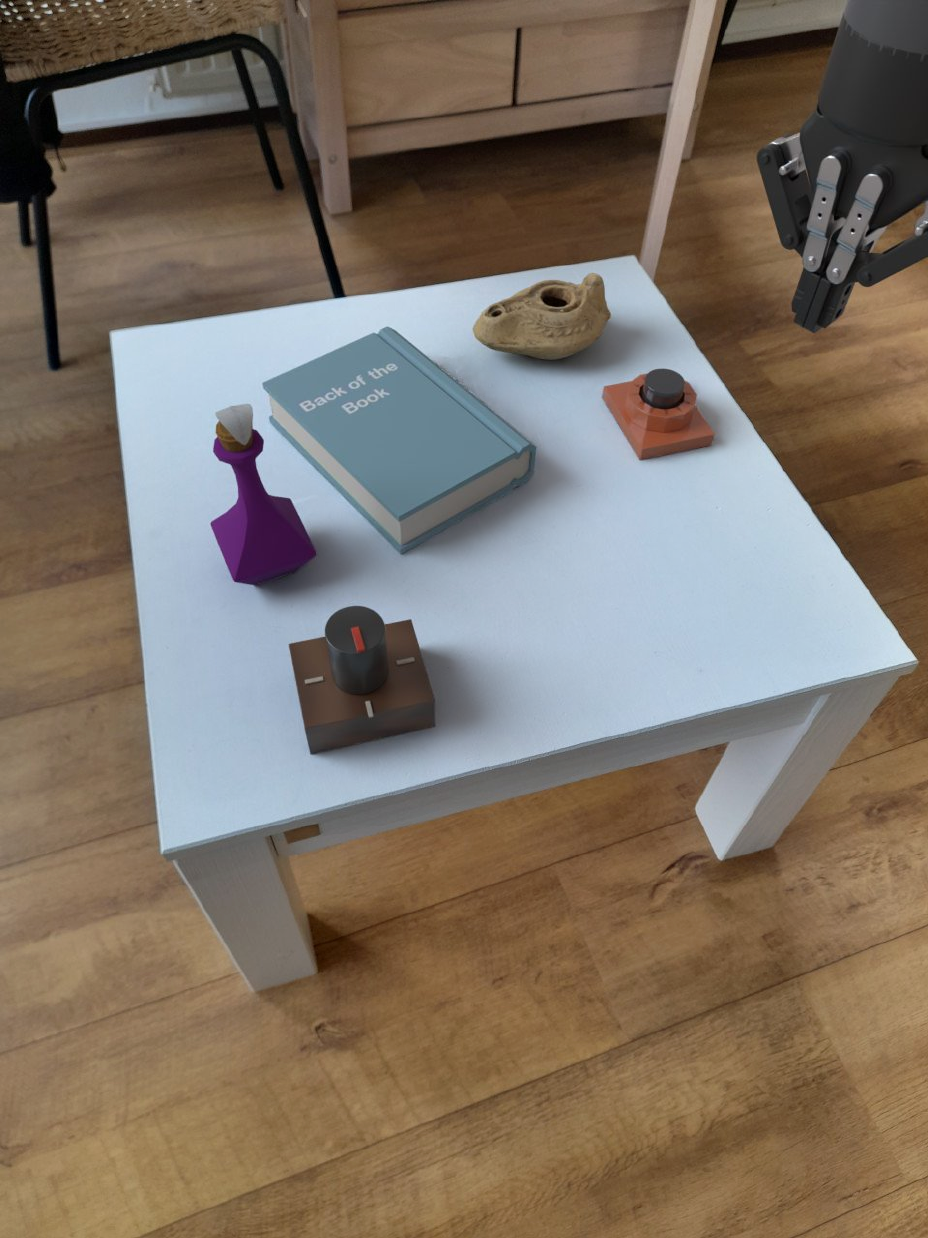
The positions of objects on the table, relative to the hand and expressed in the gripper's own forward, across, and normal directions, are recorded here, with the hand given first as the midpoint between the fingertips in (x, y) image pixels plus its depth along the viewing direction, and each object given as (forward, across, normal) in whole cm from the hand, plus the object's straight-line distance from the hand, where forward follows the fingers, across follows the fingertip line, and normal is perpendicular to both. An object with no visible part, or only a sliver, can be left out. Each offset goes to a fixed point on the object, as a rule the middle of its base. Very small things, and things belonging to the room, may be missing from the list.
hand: (811, 322), depth 58 cm
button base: (+29, +18, -16) cm, 38 cm away
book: (+29, +33, +7) cm, 45 cm away
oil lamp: (+29, +35, -16) cm, 48 cm away
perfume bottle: (+29, +30, +25) cm, 49 cm away
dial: (+25, +13, +28) cm, 40 cm away
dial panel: (+29, +13, +28) cm, 43 cm away
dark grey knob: (+26, +18, -16) cm, 35 cm away
